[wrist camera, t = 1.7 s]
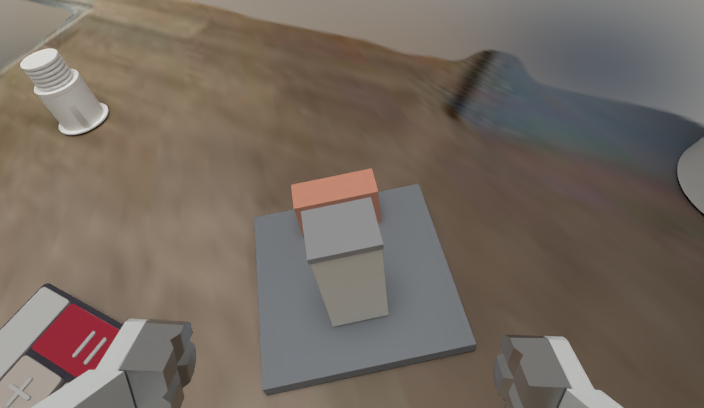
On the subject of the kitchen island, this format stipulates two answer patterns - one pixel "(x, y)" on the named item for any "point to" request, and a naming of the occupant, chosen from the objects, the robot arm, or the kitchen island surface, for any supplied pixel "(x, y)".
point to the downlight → (64, 92)
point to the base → (363, 336)
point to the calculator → (50, 346)
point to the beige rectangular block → (347, 260)
